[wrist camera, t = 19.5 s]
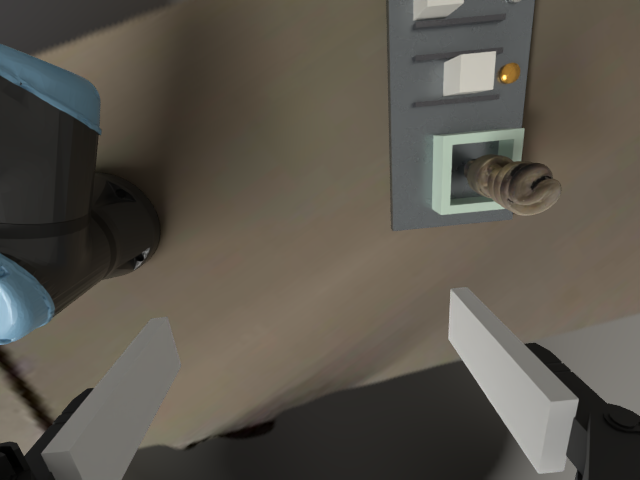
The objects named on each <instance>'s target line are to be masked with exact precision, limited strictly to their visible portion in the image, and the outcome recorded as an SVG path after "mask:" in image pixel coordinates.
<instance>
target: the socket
mask: <svg viewBox="0 0 640 480" xmlns="http://www.w3.org/2000/svg"><path fill="white" fill-rule="evenodd" d="M524 130H525V128H505V129H494V130H484V131H474V132H463V133H453V134H443V135H433V182H432V209H433V210H434V211H436V212H437V213H439V214H440V215H447V214H457V213H468V212H478V211H488V210H498V209H505V208H503V207H502V206H501V205H500V204H498V203H496V202H495V201H494V200H493V199H492V198H487V197H485V196H479V197H469V198H459V199H450V195H451V169H452V145H457V144H467V143H477V142H488V141H498V140H499V148H498V155H502V156H506V157H508V158H510V159H511V160H512V161H514V162H515V161H521V158H522V148H523V139H524Z"/></svg>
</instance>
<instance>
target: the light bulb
mask: <svg viewBox="0 0 640 480" xmlns="http://www.w3.org/2000/svg"><path fill="white" fill-rule="evenodd" d="M464 175H465V177H466V178H467V181H468V184H469V186H470V187H471V188H472V189H473V190H474V191H475V192H477V193H478V194H480V195H482V196H485V197H487V198H492V199H493V200H494V201H495V202H496V203H498V204H500V205H501V206H502V207H503V208H505V209H507V210H510V211H511V212H513V213H515V214H519V215H534V214H538V213H541V212H543V211H545V210H546V209H548V208H550V207H551V206H552V205H553V204H554V203H555V202H556V201H557V199H558V198H559V196H560V194H561V184H560V183H559V181H557V180H555V179H553V176H552V172H551V170H550V169H549V168H548V167H547V166H545V165H544V164H540V163H532V162H523V161H515V162H514V161H512V160H511V159H510V158H508V157H506V156H502V155H494V154H488V155H484V156H481V157H479V158H477V159H471V160H469V161H468V162H467V163H466V164H465V166H464Z"/></svg>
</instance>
